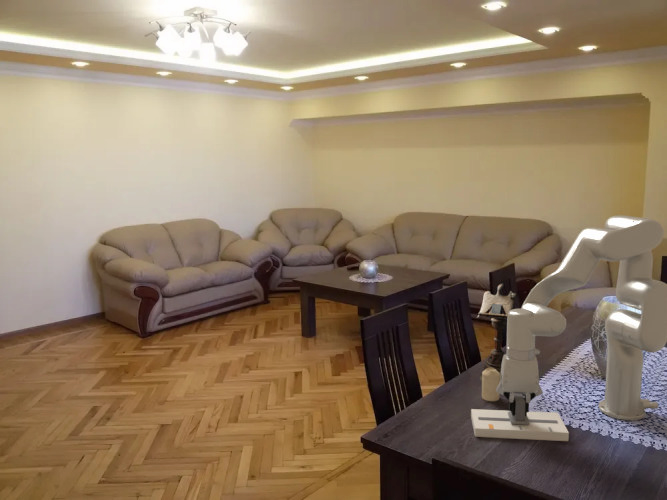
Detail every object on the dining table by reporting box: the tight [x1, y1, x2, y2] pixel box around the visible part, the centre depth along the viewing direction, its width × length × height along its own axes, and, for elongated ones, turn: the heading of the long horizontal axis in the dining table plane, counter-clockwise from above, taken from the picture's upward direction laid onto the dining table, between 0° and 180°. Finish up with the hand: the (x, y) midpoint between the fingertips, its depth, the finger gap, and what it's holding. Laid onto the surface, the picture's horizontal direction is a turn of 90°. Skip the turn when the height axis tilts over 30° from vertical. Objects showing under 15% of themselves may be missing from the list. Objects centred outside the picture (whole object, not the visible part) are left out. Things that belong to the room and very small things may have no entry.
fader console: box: [470, 408, 570, 442], centre depth 157 cm, size 25×12×3 cm, turn 81°
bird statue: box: [476, 283, 517, 382], centre depth 186 cm, size 17×13×35 cm
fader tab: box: [508, 392, 530, 425], centre depth 156 cm, size 5×6×7 cm
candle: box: [481, 367, 500, 402], centre depth 176 cm, size 6×6×10 cm
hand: (518, 413), depth 156 cm, fingers closed on fader tab, 2 cm apart
